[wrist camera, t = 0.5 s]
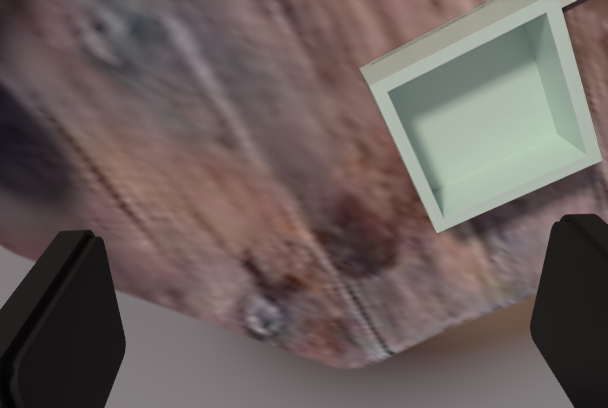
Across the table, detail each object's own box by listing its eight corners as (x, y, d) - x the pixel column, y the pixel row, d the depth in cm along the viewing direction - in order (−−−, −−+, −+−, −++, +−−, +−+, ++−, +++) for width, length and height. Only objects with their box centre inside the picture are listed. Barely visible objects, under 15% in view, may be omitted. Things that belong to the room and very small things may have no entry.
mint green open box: (358, 67, 44) (369, 86, 38) (521, -16, 41) (556, -9, 36) (420, 201, 50) (436, 233, 44) (566, 135, 47) (602, 160, 42)
